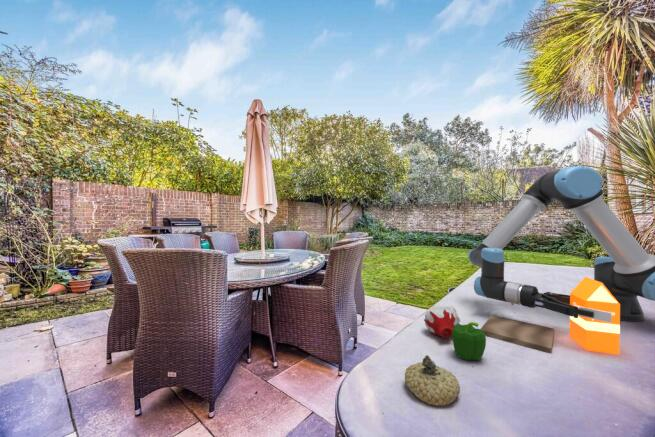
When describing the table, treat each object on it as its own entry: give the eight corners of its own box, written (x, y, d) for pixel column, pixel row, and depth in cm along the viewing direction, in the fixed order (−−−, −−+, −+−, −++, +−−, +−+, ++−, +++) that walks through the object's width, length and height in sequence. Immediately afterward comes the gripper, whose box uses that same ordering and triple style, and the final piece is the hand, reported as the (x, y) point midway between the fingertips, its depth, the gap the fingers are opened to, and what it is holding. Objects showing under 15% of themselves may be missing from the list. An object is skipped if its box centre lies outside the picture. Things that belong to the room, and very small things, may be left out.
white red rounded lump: (454, 324, 93) (467, 351, 78) (420, 321, 95) (427, 347, 81) (455, 300, 92) (469, 323, 77) (421, 298, 94) (428, 319, 79)
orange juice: (599, 340, 82) (600, 277, 82) (620, 355, 74) (621, 284, 74) (568, 337, 85) (569, 275, 85) (585, 350, 76) (585, 282, 76)
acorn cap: (399, 374, 65) (398, 362, 58) (438, 357, 66) (442, 343, 59) (420, 421, 58) (422, 413, 51) (464, 401, 59) (472, 391, 52)
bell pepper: (444, 352, 75) (444, 317, 75) (464, 346, 78) (464, 313, 78) (471, 368, 67) (471, 329, 67) (492, 360, 71) (492, 324, 71)
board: (554, 333, 88) (554, 328, 88) (551, 353, 74) (551, 348, 74) (491, 318, 100) (491, 314, 100) (479, 334, 87) (480, 329, 87)
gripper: (532, 299, 100) (618, 317, 83) (510, 312, 87) (607, 337, 69) (532, 279, 100) (618, 293, 83) (510, 289, 87) (608, 308, 69)
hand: (613, 313), depth 76 cm, fingers closed on orange juice, 10 cm apart
